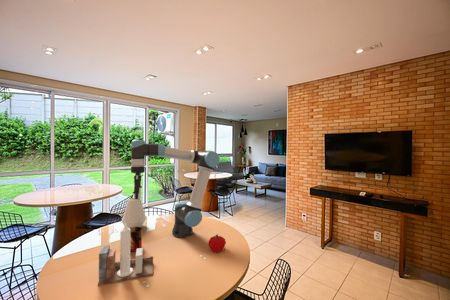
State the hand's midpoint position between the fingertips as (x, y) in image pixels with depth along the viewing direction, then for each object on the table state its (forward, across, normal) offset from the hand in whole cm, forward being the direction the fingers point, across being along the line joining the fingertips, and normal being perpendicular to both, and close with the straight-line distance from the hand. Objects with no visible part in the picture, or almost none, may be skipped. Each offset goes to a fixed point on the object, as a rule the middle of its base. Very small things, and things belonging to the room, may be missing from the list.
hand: (137, 201), depth 119 cm
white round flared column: (+31, +19, -4) cm, 36 cm away
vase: (+32, -44, -5) cm, 55 cm away
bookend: (+30, +18, +2) cm, 36 cm away
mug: (+32, -8, -1) cm, 33 cm away
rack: (+32, +18, -3) cm, 37 cm away
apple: (+32, +10, +47) cm, 58 cm away
